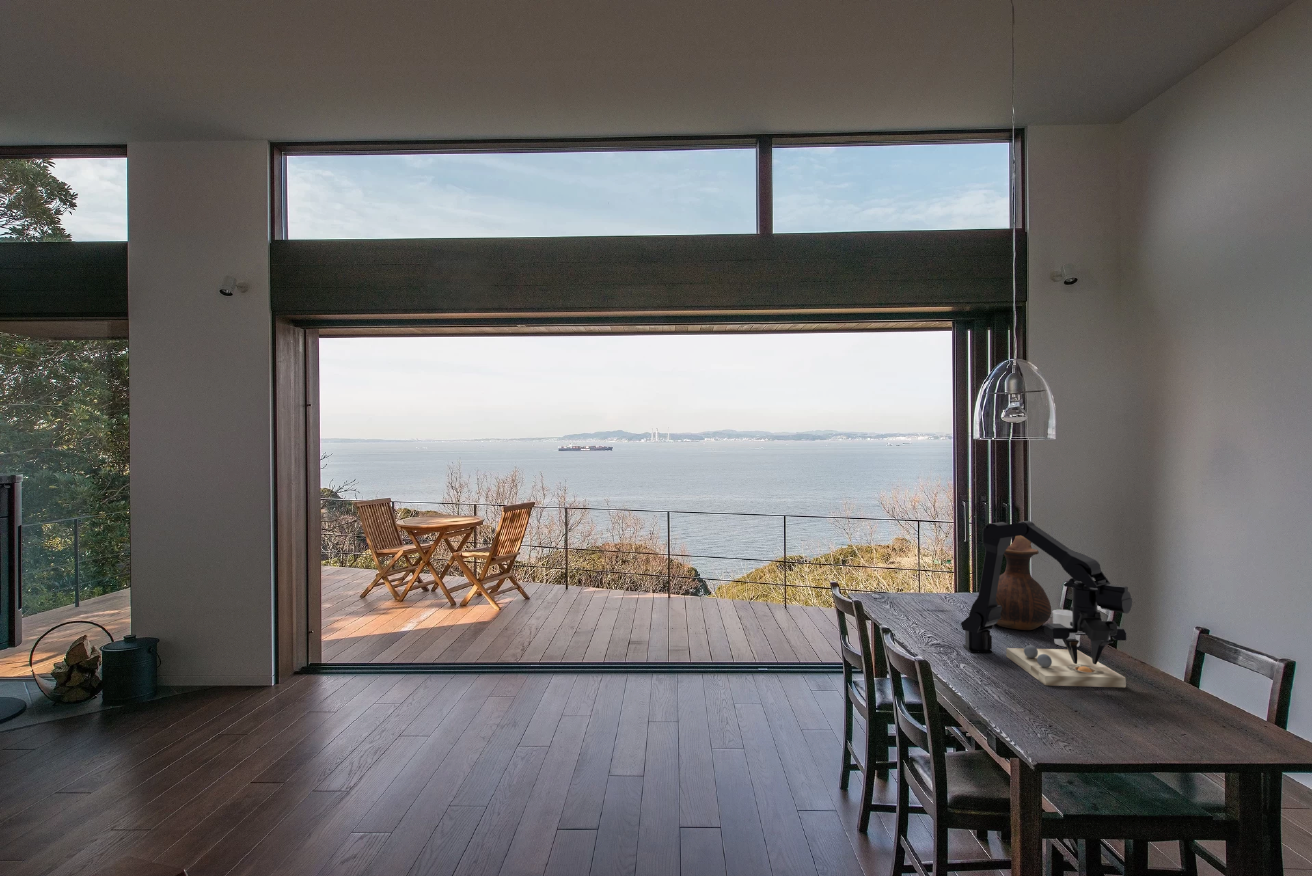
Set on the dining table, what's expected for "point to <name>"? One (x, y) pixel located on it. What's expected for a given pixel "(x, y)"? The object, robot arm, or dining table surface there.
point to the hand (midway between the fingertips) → (1084, 663)
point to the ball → (1084, 669)
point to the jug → (1021, 590)
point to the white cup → (1063, 623)
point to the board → (1066, 669)
